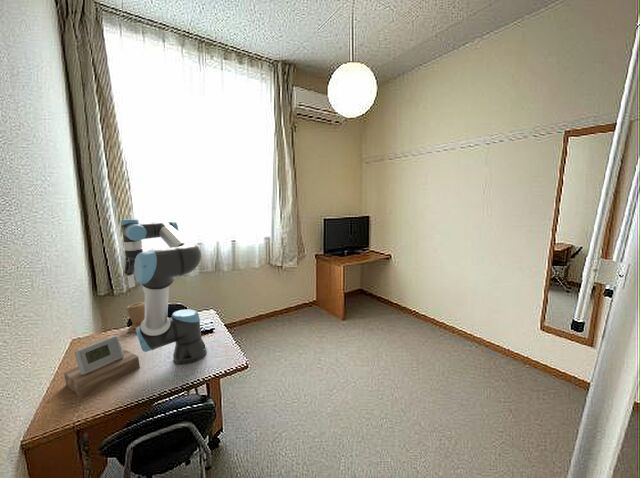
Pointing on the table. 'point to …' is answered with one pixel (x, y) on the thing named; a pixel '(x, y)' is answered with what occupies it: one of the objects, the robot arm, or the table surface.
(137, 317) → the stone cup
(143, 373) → the table surface
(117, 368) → the walnut block
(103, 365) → the digital clock
